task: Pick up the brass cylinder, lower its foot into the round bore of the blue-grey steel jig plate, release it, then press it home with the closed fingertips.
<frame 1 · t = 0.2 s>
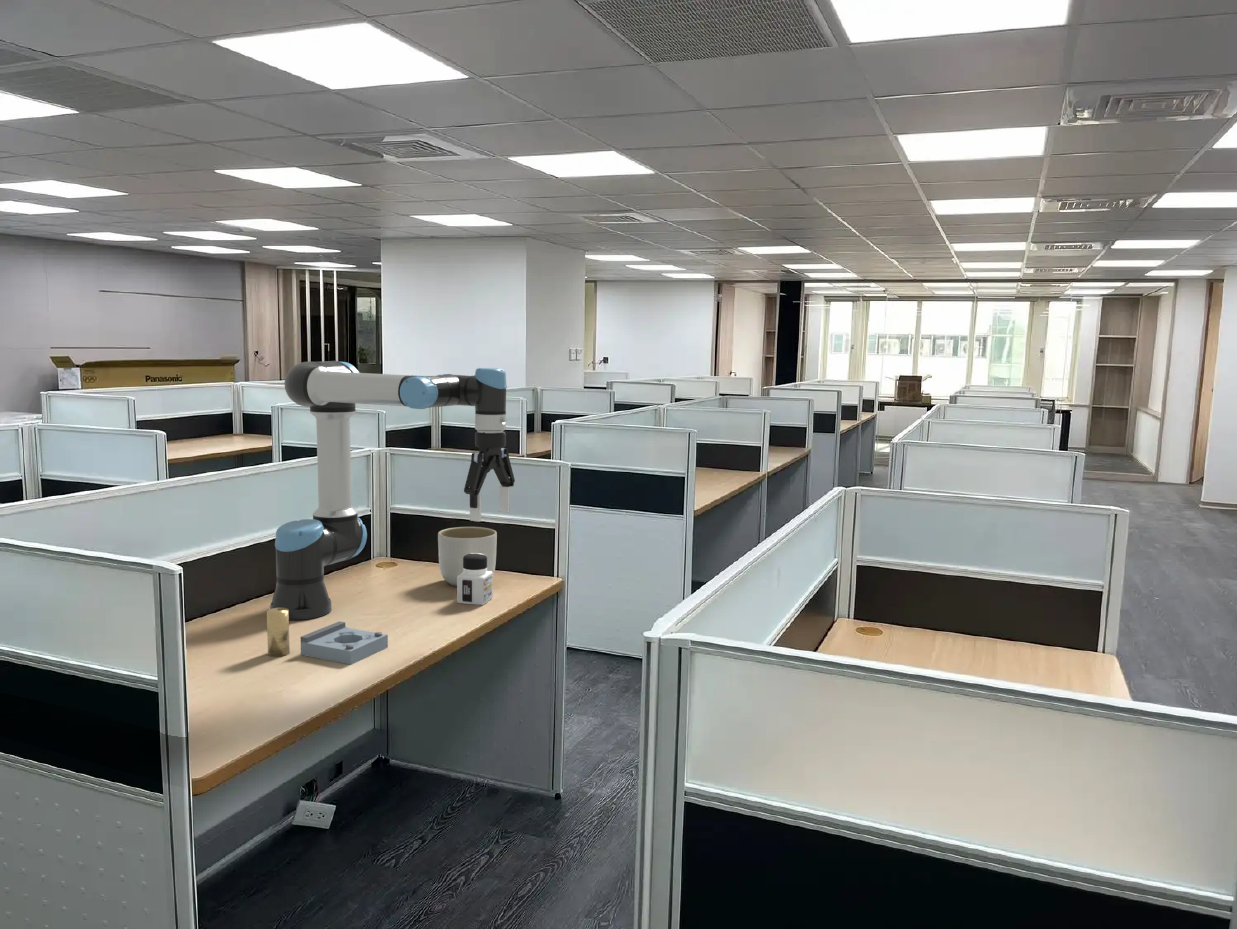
hand: (490, 516, 229), 28 cm above the table, fingers open, 13 cm apart
container: (475, 601, 254), on the table
jig: (345, 651, 211), on the table
brass cylinder: (278, 653, 209), on the table
planter: (467, 583, 273), on the table
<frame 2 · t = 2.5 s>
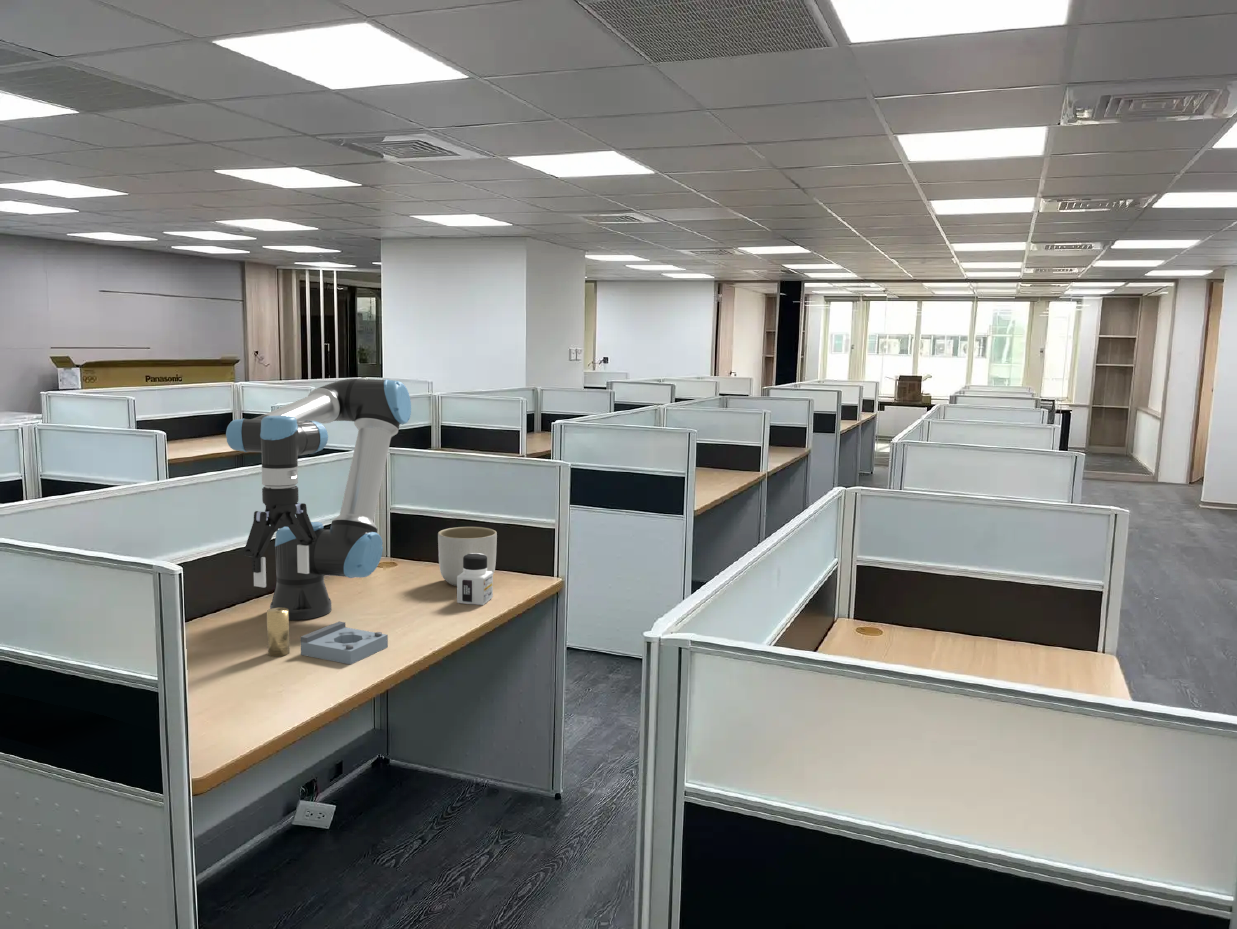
hand: (282, 579, 207), 17 cm above the table, fingers open, 13 cm apart
nothing on the table moved.
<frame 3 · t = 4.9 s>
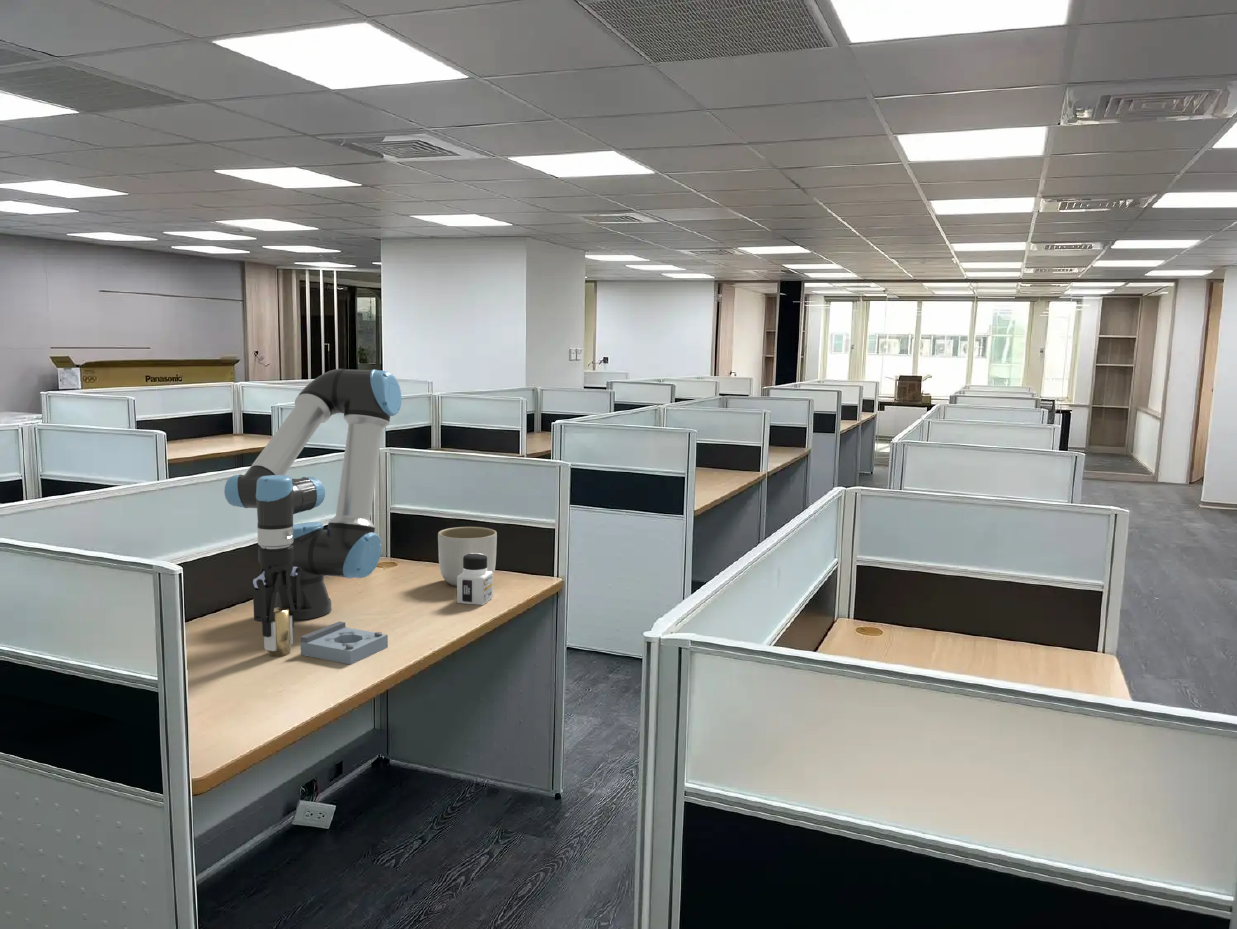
hand: (278, 646, 208), 2 cm above the table, fingers closed on brass cylinder, 4 cm apart
brass cylinder: (279, 653, 209), on the table, touching gripper
everything else where it was.
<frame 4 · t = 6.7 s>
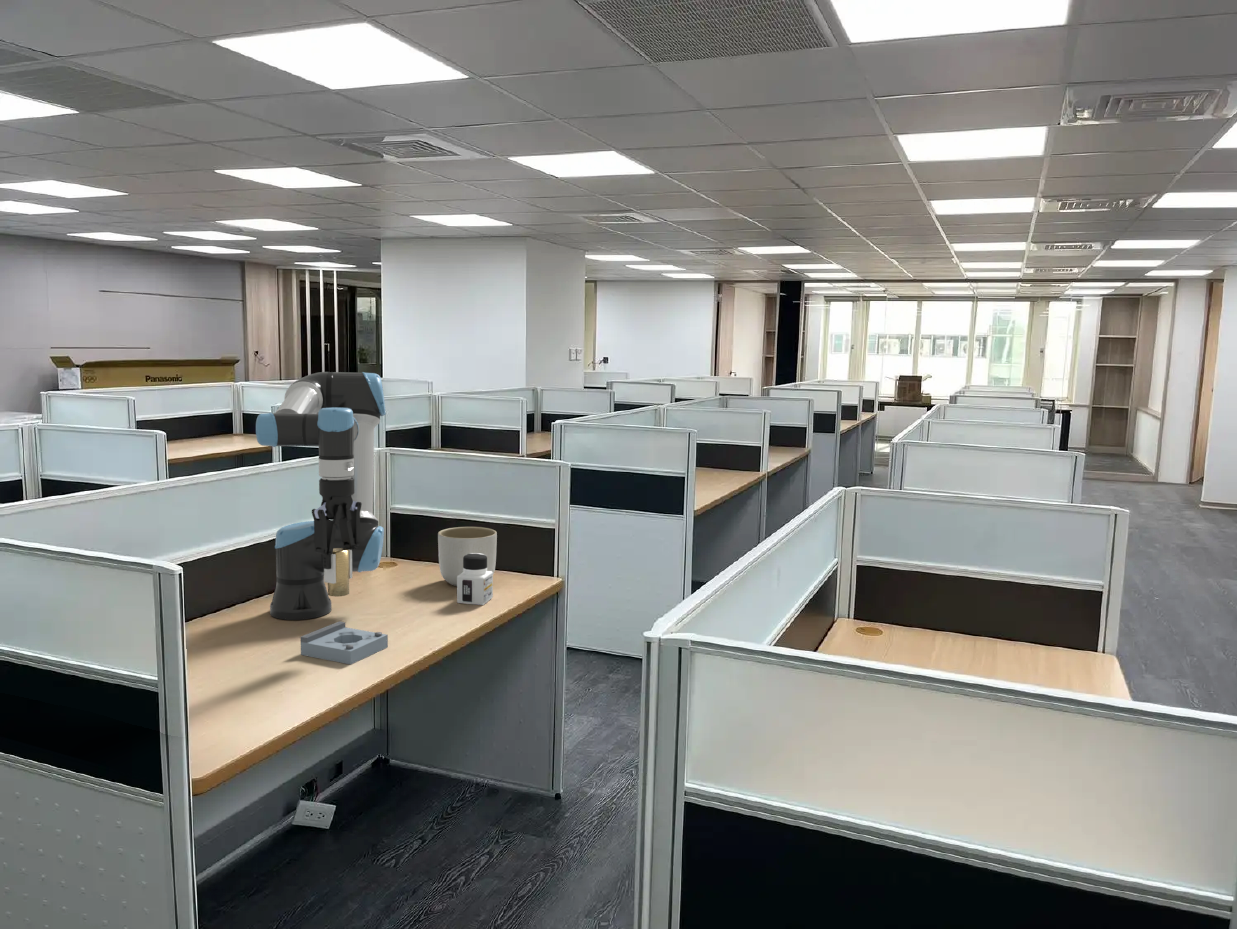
hand: (338, 579, 208), 17 cm above the table, fingers closed on brass cylinder, 4 cm apart
brass cylinder: (338, 593, 208), point 14 cm above the table, touching gripper
everything else where it was.
when the fingers open (4 cm above the table, at t = 9.0 s): brass cylinder stays where it is, resting in jig.
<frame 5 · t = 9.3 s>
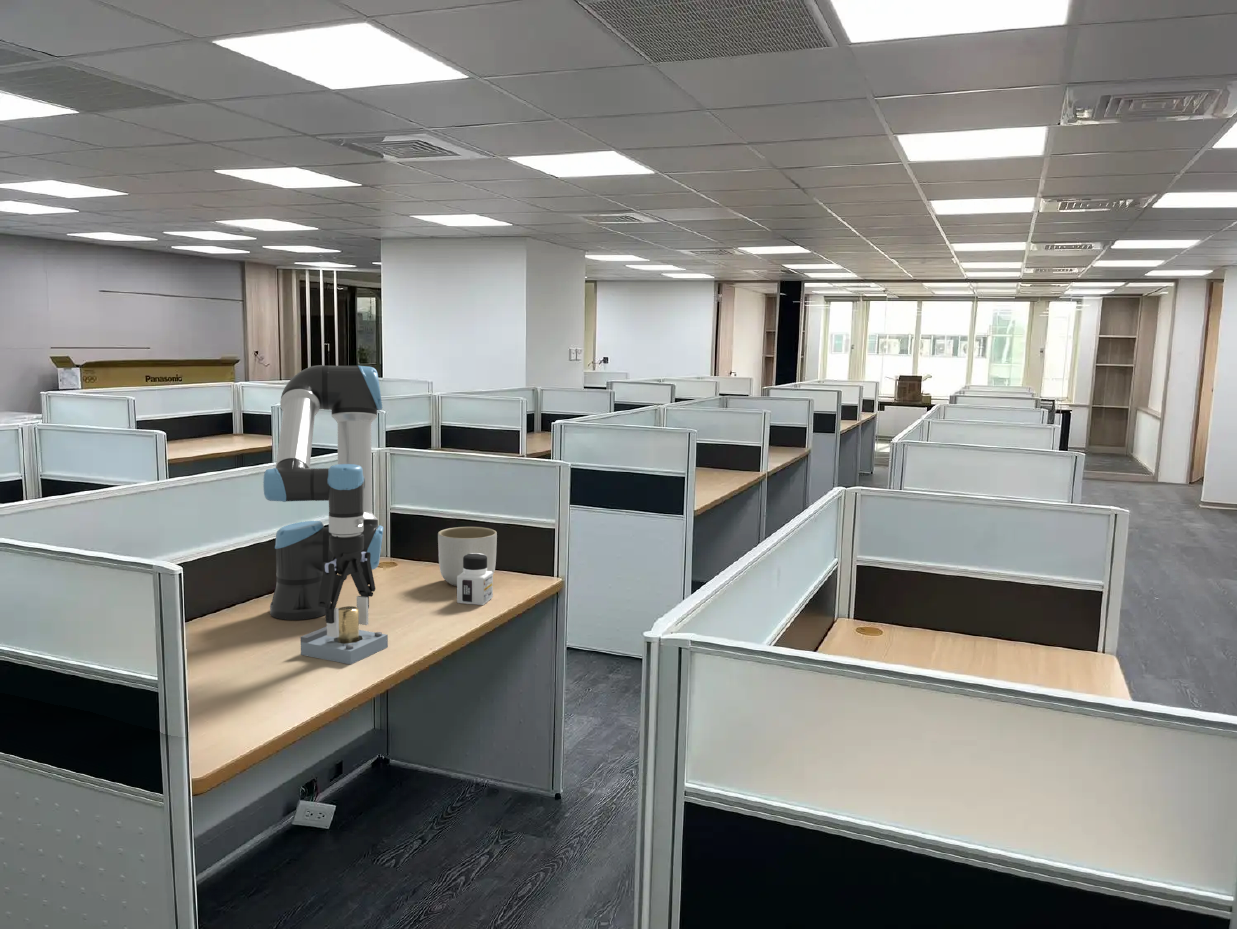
hand: (348, 630, 210), 5 cm above the table, fingers open, 9 cm apart
brass cylinder: (348, 651, 211), resting in jig
everything else where it was.
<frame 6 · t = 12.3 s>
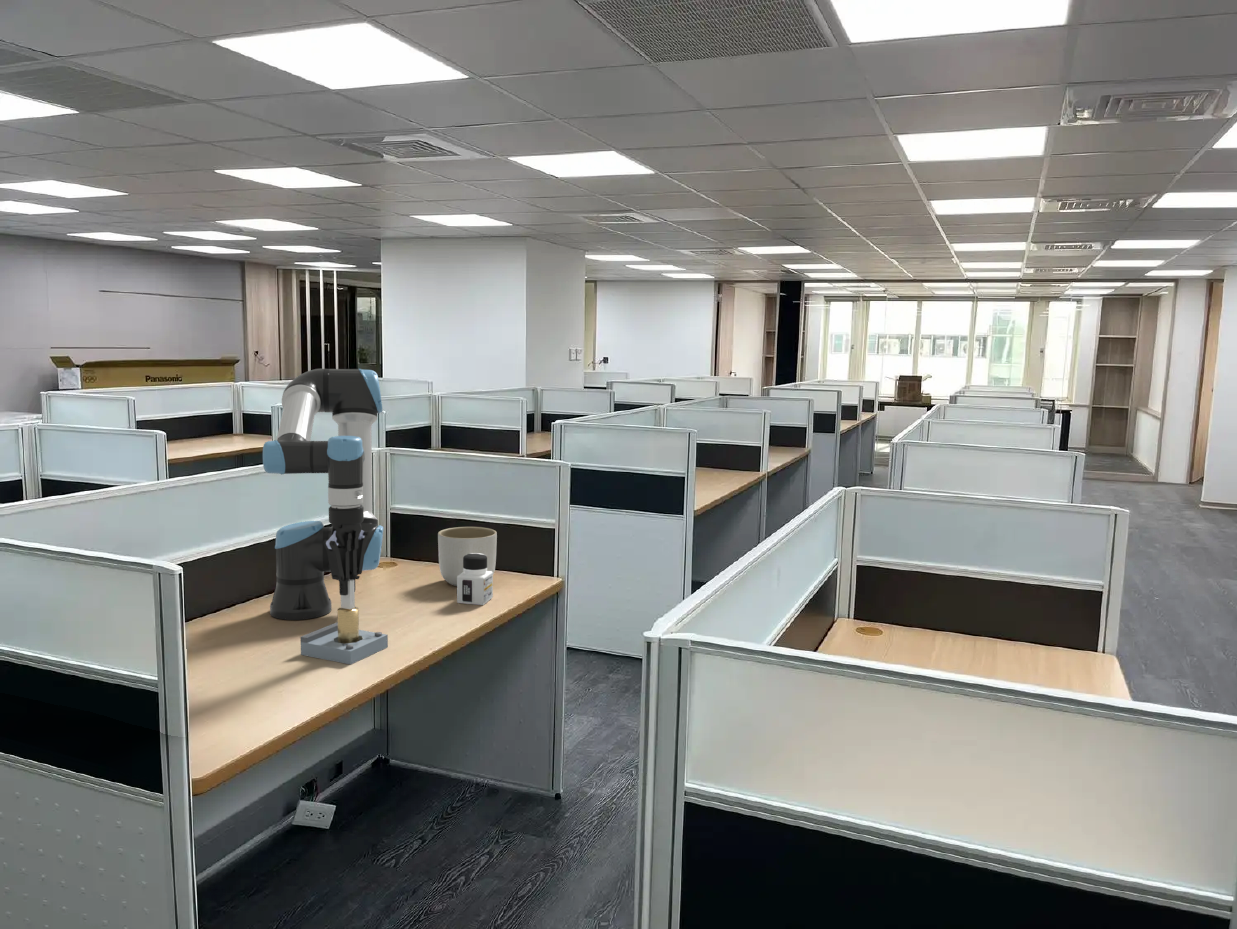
hand: (347, 607, 209), 10 cm above the table, fingers closed
nothing on the table moved.
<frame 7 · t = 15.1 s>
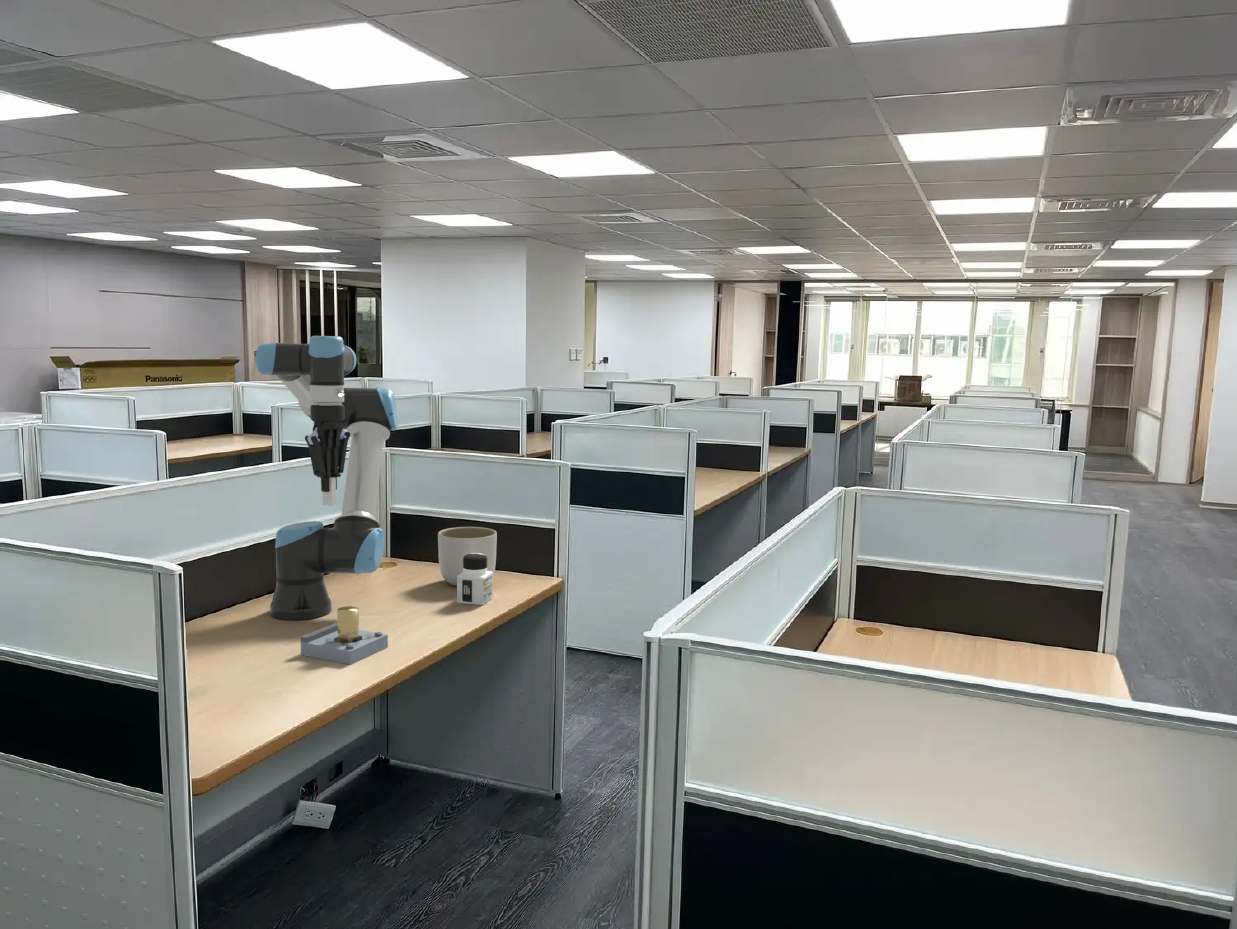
hand: (329, 505, 215), 32 cm above the table, fingers closed
nothing on the table moved.
at the end: brass cylinder 0.0 cm from the target spot on the jig, point 0.0 cm above the jig's base; brass cylinder tilted 0°; the gripper is holding nothing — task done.
